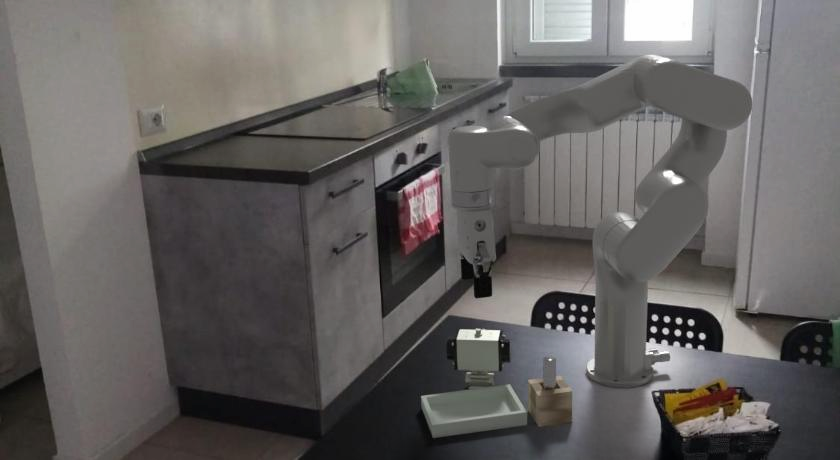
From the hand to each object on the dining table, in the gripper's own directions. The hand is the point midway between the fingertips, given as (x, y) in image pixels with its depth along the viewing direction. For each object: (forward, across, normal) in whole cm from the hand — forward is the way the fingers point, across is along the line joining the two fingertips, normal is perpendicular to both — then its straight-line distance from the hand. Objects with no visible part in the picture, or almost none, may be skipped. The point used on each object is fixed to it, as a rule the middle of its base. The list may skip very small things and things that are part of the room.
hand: (476, 287), depth 158 cm
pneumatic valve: (+20, 0, 0) cm, 20 cm away
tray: (+20, -10, +4) cm, 23 cm away
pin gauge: (+20, -14, -9) cm, 26 cm away
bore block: (+20, -14, -9) cm, 26 cm away
